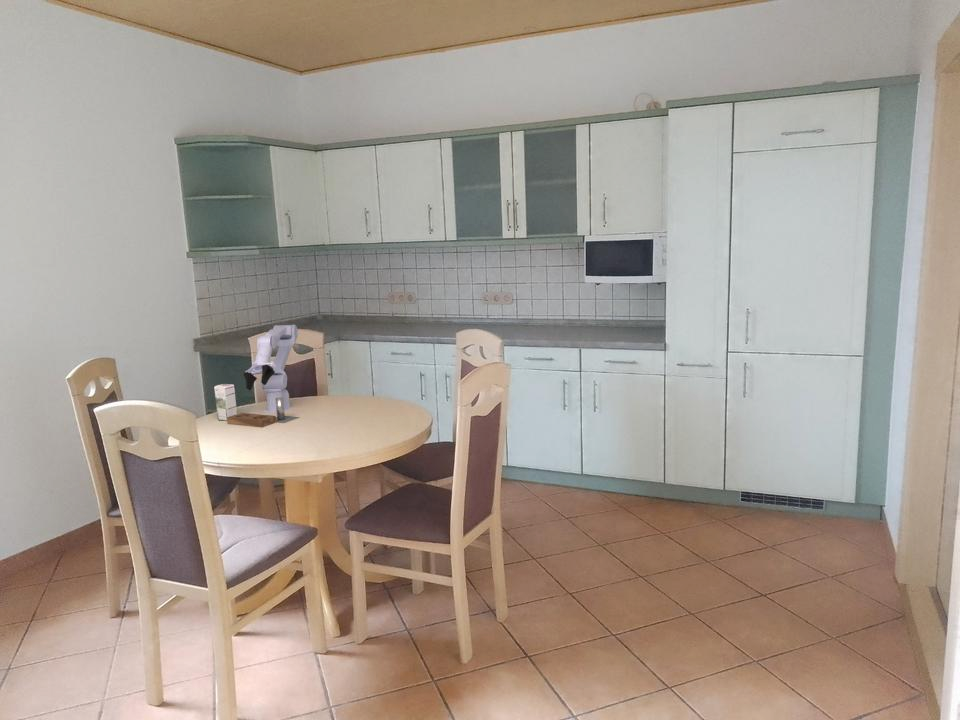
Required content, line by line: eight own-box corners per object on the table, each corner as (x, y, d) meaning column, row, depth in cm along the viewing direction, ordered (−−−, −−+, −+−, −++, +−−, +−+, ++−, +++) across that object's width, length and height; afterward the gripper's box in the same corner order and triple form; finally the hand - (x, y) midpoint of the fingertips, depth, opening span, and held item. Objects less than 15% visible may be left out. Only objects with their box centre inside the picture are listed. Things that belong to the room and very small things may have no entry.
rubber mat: (281, 416, 292) (281, 415, 292) (300, 417, 288) (300, 417, 288) (264, 422, 283) (264, 421, 283) (284, 423, 279) (284, 423, 279)
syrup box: (238, 418, 292) (234, 383, 289) (227, 421, 287) (224, 386, 284) (227, 417, 294) (224, 383, 292) (217, 420, 289) (213, 386, 287)
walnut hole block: (242, 419, 288) (241, 412, 288) (276, 423, 281) (275, 415, 280) (227, 424, 281) (227, 417, 281) (262, 428, 273) (261, 420, 273)
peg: (280, 418, 286) (278, 397, 285) (286, 419, 285) (284, 397, 284) (275, 420, 284) (273, 398, 282) (281, 420, 283) (279, 399, 281)
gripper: (242, 358, 287) (234, 385, 279) (270, 348, 282) (263, 375, 274) (253, 368, 292) (247, 394, 284) (281, 358, 287) (275, 385, 279)
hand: (255, 386), depth 279 cm, fingers open, 7 cm apart
